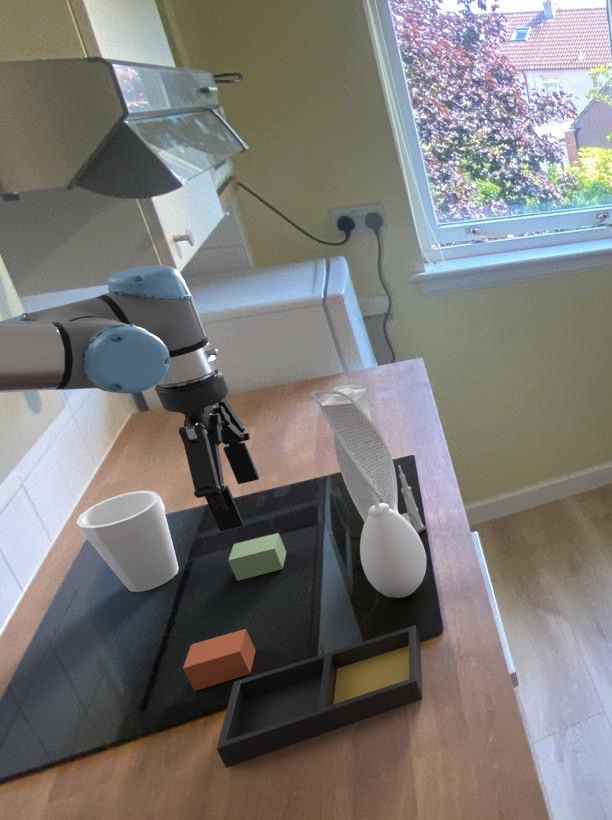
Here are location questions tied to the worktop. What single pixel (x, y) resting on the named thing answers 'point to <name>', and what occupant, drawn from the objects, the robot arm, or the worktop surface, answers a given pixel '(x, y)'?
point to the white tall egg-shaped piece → (391, 552)
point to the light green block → (257, 556)
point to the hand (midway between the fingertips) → (241, 503)
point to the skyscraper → (364, 453)
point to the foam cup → (132, 538)
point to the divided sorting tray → (320, 695)
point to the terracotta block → (219, 659)
